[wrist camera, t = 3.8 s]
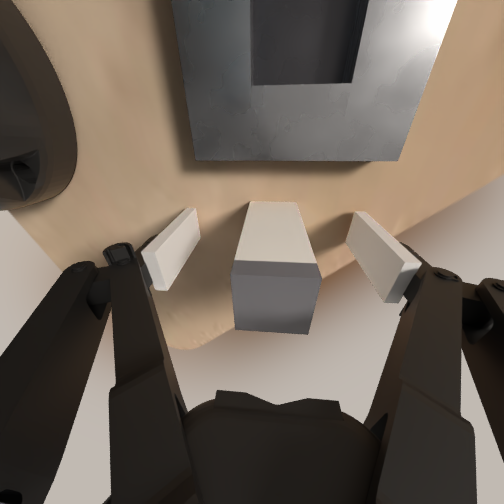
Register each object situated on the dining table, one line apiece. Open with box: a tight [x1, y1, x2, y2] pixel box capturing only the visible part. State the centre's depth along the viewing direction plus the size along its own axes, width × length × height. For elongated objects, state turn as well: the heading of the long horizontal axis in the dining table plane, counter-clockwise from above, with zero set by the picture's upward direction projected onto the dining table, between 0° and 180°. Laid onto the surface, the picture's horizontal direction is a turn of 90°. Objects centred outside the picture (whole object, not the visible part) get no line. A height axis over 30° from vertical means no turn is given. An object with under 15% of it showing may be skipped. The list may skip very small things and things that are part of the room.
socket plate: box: [171, 0, 457, 161], centre depth 9 cm, size 12×12×3 cm
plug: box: [230, 201, 322, 335], centre depth 12 cm, size 4×4×9 cm
